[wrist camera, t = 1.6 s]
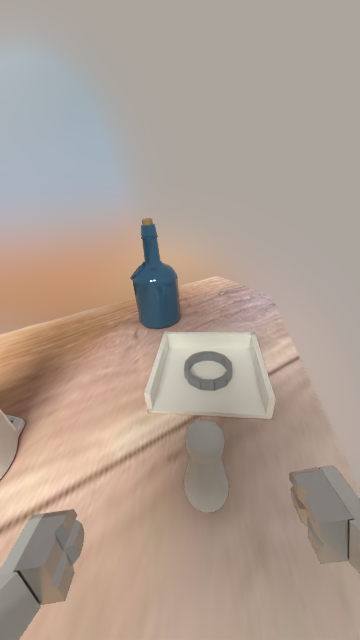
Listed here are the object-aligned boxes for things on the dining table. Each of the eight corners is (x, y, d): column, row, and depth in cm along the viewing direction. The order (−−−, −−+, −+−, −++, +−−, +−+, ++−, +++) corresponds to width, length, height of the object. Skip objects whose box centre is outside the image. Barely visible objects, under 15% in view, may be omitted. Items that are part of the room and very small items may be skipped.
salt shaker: (216, 464, 33) (217, 403, 27) (237, 508, 28) (244, 447, 22) (179, 479, 32) (170, 419, 25) (193, 528, 27) (188, 470, 21)
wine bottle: (181, 309, 78) (174, 214, 64) (179, 329, 67) (170, 219, 52) (142, 311, 79) (126, 218, 65) (134, 331, 68) (112, 224, 53)
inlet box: (271, 419, 39) (275, 399, 36) (148, 412, 42) (144, 393, 40) (252, 349, 56) (254, 332, 54) (166, 348, 59) (164, 332, 57)
